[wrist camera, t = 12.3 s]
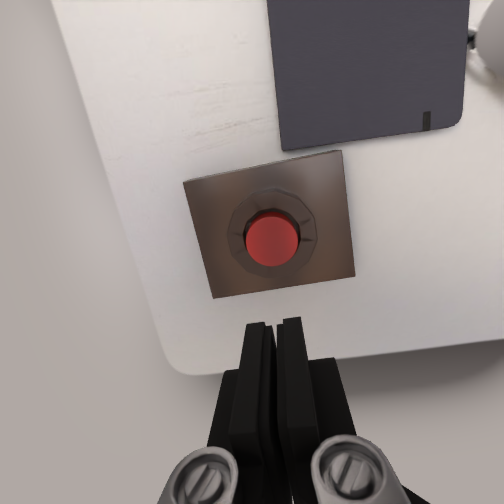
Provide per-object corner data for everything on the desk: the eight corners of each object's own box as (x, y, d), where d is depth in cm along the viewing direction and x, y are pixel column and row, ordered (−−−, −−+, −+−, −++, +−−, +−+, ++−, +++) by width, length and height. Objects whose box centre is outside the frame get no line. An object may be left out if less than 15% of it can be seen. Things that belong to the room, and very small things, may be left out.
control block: (217, 288, 29) (209, 309, 25) (189, 179, 26) (175, 184, 22) (349, 267, 28) (361, 285, 24) (335, 149, 25) (347, 149, 21)
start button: (252, 262, 24) (251, 270, 23) (243, 216, 23) (240, 221, 21) (299, 254, 24) (301, 261, 22) (291, 207, 23) (293, 212, 21)
